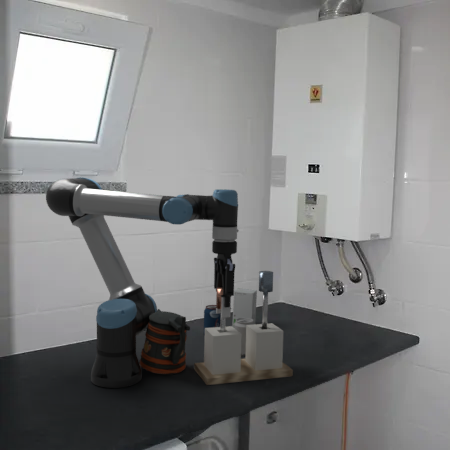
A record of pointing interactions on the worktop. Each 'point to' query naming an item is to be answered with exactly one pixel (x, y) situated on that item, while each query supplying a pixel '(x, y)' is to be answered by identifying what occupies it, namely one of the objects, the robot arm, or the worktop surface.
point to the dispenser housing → (231, 348)
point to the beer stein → (165, 343)
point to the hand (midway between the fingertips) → (223, 314)
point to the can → (243, 331)
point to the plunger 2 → (265, 292)
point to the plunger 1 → (218, 305)
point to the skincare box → (244, 304)
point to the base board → (241, 374)
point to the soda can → (211, 317)
